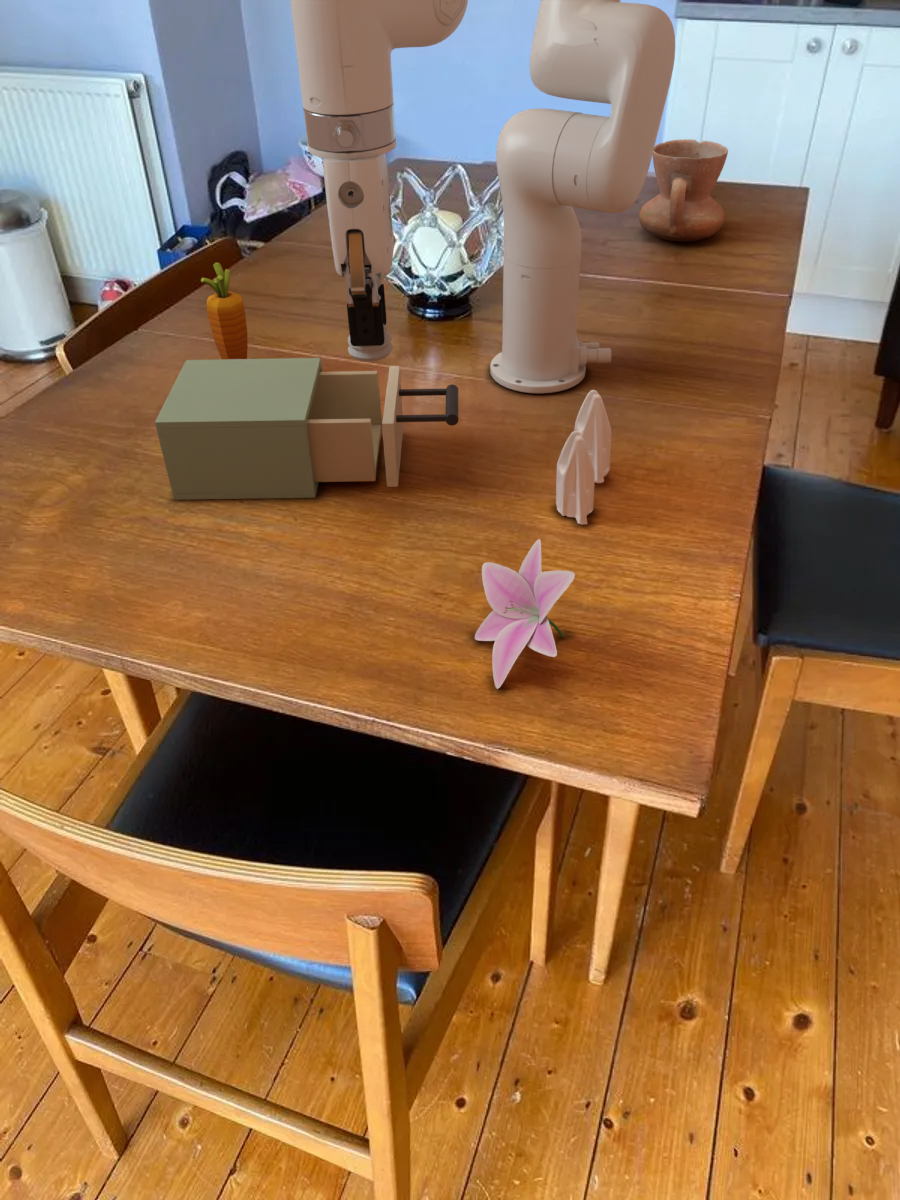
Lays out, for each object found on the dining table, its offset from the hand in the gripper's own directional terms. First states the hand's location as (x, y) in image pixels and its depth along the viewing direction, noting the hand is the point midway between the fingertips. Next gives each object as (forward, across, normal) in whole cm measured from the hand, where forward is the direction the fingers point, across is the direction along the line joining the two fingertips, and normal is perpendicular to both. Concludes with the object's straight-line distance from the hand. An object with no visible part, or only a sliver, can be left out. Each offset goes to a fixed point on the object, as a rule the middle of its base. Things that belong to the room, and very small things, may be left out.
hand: (369, 332), depth 90 cm
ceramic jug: (+20, +80, -48) cm, 96 cm away
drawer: (+18, +7, +2) cm, 19 cm away
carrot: (+19, +29, +21) cm, 41 cm away
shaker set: (+19, 0, -22) cm, 29 cm away
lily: (+19, -25, -13) cm, 34 cm away
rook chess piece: (+2, 0, 0) cm, 2 cm away
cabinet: (+19, +7, +15) cm, 25 cm away
